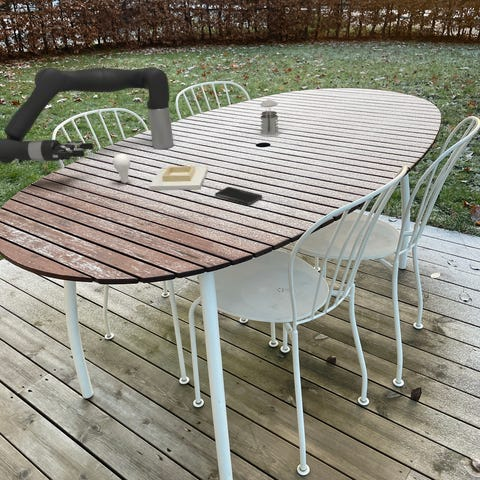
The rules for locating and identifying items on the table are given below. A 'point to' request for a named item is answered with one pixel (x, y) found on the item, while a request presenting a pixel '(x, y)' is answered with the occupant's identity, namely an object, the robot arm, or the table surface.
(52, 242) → the table surface
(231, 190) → the phone
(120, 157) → the lightbulb
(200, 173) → the lamp base
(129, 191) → the table surface
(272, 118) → the french press
